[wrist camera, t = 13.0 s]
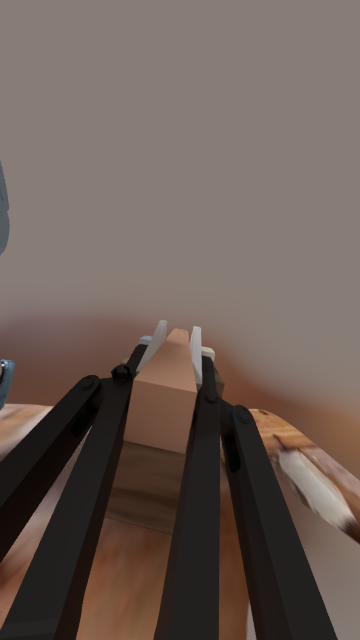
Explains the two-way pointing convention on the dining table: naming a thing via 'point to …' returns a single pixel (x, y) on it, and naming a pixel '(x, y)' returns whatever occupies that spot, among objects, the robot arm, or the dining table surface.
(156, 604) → the dining table surface
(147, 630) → the dining table surface
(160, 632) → the robot arm
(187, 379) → the terracotta stick
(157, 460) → the walnut stand
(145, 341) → the slate cube
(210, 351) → the cream cube
